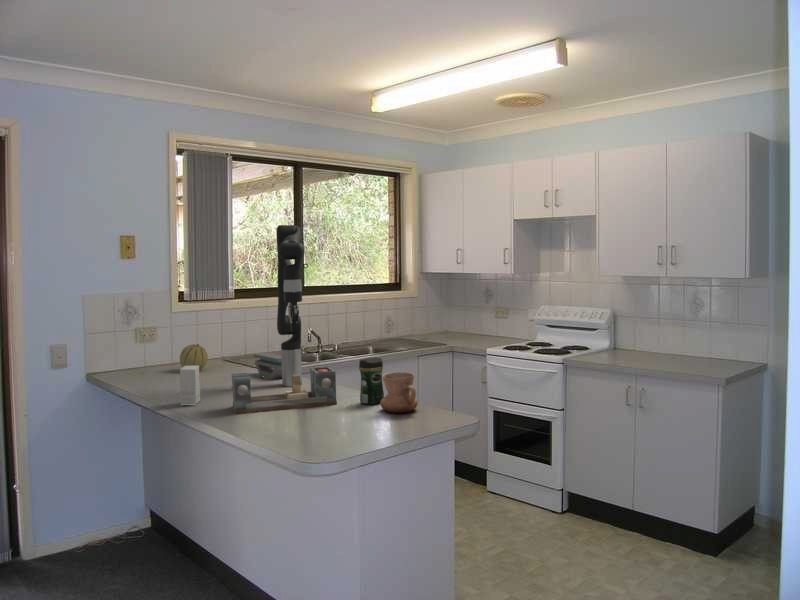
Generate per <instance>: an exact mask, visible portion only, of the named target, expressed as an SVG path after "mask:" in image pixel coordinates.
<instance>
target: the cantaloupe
mask: <svg viewBox="0 0 800 600" xmlns="http://www.w3.org/2000/svg"><path fill="white" fill-rule="evenodd" d="M208 357H209V355H208V352H207V350H206V348H204V347H203V346H201V345H200V343H196V344H189V345H187V346H185V347H183V349H182V350H181V352H180V354H179V364H180V365H181V368H183V367H184V366H198V365H199V371H201V370H202V369H203V368H205V366H206V365H207V363H208Z"/></svg>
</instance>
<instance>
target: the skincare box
mask: <svg viewBox="0 0 800 600" xmlns="http://www.w3.org/2000/svg"><path fill="white" fill-rule="evenodd" d="M179 382H180V383H179V384H180V386H179V387H180V388H179V389H180V391H179V392H180V405H181V404H196V403H198V402H199V401H200V402H201V391H200V390H201V388H200V386H201V385H200V370H199V365H198V366H184V367H181V368H180V369H179ZM200 402H199V403H200ZM199 403H198V404H199Z"/></svg>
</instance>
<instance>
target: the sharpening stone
mask: <svg viewBox="0 0 800 600" xmlns="http://www.w3.org/2000/svg"><path fill="white" fill-rule="evenodd" d="M253 358H256V359H257V358H258V359H257V360H254V365H255V367H256V369H257V372H258V374H259V376H260V375H261V376H264V377H263V378H265V377H267V379H269V378H270V380H276V378H277V379H282V357H281V354H278V353H273V352H268V351H267V352H261V353H254V354H253ZM261 376H260V377H261Z"/></svg>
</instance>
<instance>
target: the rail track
mask: <svg viewBox="0 0 800 600" xmlns="http://www.w3.org/2000/svg"><path fill="white" fill-rule="evenodd" d="M319 369H327V370H328V371H326V372H318V370H319ZM309 370H310V371H309V373H310V375H309V376H310V391H306V392H307V393H308V398H300V399H289V400H286V399H285V393H277V394H267V395H266V394H265V395H256V396H255V395H254V396H251V395H252V393H251V390H252V389H251V377H250V374H248V373H247V372H242V373H232V374H231V382H232V385H231V386H232V387H231V388H232V407H234V408H233V410H235V411H234V413H235V414H236V413H242V414H248V413H247V412H252V413H257V412H256V411H263V412H271V410H273V411H281V410H293V409H303V408H315V407H325V406H324V405H326V406H333V405H332V404H336V405H338V401H337V381H336V370H335V369H333V368H331V367H330V366H320V367H310V368H309Z"/></svg>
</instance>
